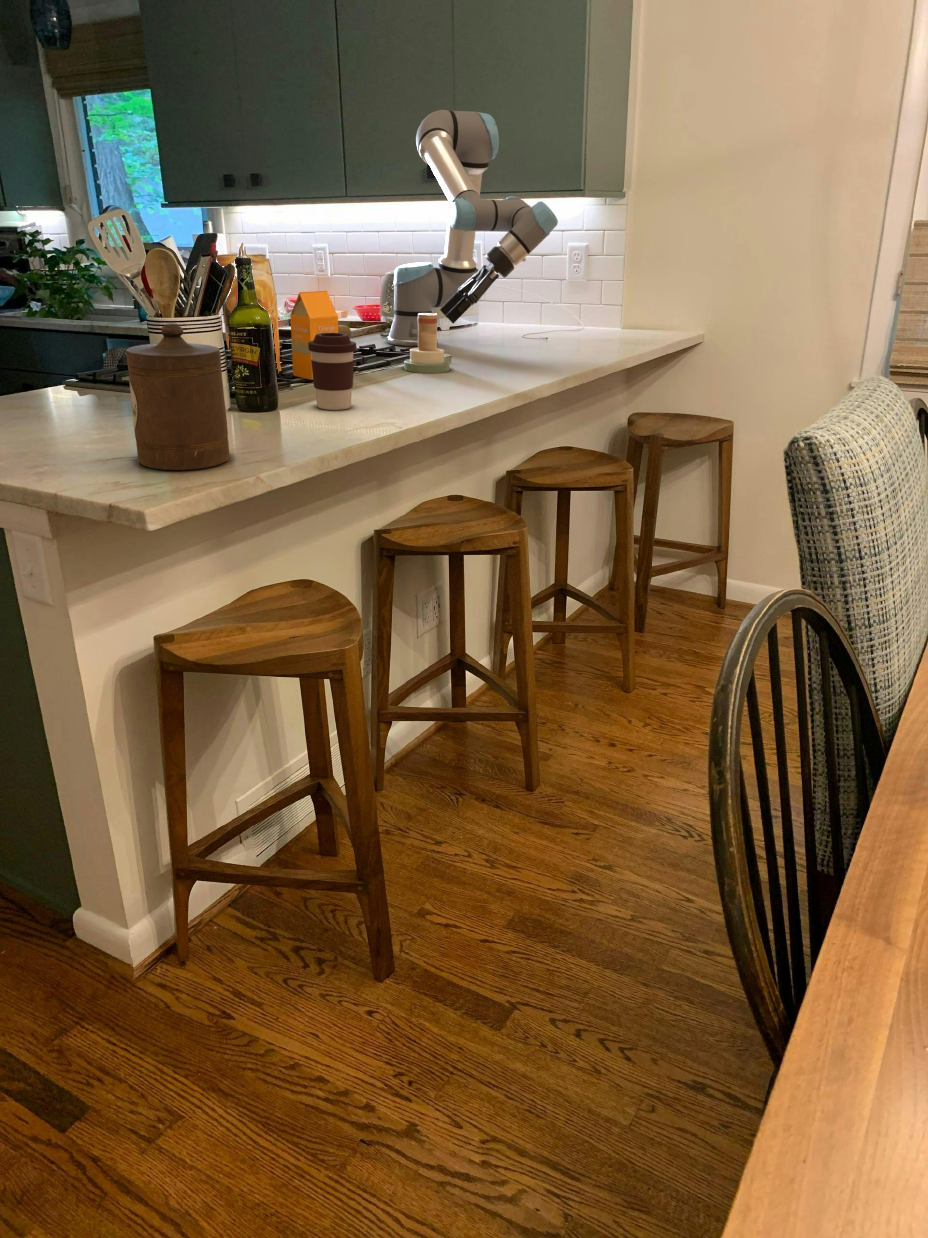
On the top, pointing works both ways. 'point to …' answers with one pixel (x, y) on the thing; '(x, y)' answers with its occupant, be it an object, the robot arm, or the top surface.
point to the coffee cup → (332, 369)
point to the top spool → (427, 331)
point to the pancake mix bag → (263, 292)
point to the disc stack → (426, 361)
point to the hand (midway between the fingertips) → (446, 316)
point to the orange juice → (310, 327)
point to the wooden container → (178, 403)
